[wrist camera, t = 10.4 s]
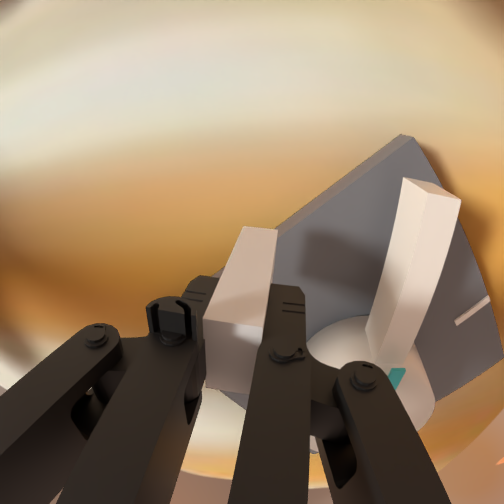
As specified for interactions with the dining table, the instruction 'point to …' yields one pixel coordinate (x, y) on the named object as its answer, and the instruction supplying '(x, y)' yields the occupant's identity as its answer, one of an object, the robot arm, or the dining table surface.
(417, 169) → the base
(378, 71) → the dining table surface
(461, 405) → the dining table surface
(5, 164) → the dining table surface
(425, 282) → the rotary lever handle
